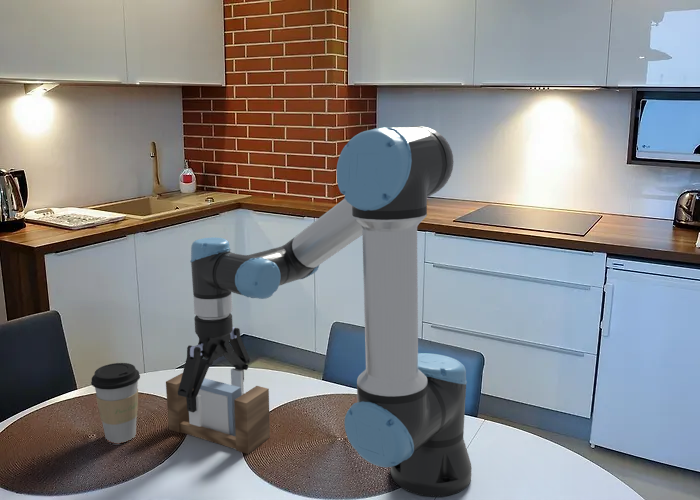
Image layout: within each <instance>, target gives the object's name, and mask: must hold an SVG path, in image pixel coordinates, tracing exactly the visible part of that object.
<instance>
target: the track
mask: <svg viewBox="0 0 700 500" xmlns="http://www.w3.org/2000/svg"><path fill="white" fill-rule="evenodd" d="M182 374H183V372H181V373H180V374H178V375H176V376H174V377H172V378H170V379H168V380H166V381H165V390H166V405H167V406H166V407H167V421H168V422H167V423H168V430H169V431H172V432H173V431H174V432H176V433H182V434H184V435H185V434H186V435H189V436H193V437H195V438H198V439H200V440H201V439H202V440H205V441H208V442H211V443H215V444H218V445H220V446H221V445H222V446H224V447H228V448H231V449H235V451H237V452H239V453H244V454H247V455H249V454H250V453H252V452H253V451H255V450H256V449H257V448H258V447H259V446H261V445H262V444H264V443H265V442H266V441H267V440H269V439H270V438H271V427H270V426H271V423H270V421H271V420H270V391H269V390H270V388H267V387H264V386H260V385H255V386H254V387H253V388H251V389H250V390H247V391H246V392H244V394H243V395H241V396H240V397H238V398H237V399H235V400H234V407H235V432H236V437H235V436H232V435H229V434H225V433H222V432H219V431H215V430H212V429H209V428H205V427H202V426H200V427H199V426H196V425H192V424H189V411H188V410H187V400H186V397H183V396H179V395H178V389H179V386H180V382H181V378H182ZM193 390H194V389H193ZM269 437H270V438H269ZM268 438H269V439H268Z"/></svg>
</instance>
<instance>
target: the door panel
mask: <svg viewBox="0 0 700 500" xmlns="http://www.w3.org/2000/svg"><path fill="white" fill-rule="evenodd" d="M198 395H201V408H202V427H205V428H209V429H212V430H215V431H219V432H222V433H225V434H229V435H232V436H235V437H236V432H235V407H234V400H235V399H237V398H238V397H240V396H241V387H237V386H233V385H231V384H230V383H225V382H221V381H217V380H213V379H209V378H206V377H205V378H204V380H203V383H202V385H201V388H200V390H199V392H198Z"/></svg>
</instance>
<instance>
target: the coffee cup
mask: <svg viewBox="0 0 700 500" xmlns="http://www.w3.org/2000/svg"><path fill="white" fill-rule="evenodd" d="M140 378H141V375H140V372H139V370H138V369H137V368H136V366H135V365H134V364H131V363H127V362H116V363H115V362H114V363H109V364H105V365H102V366H100V367H98V368H97V369H95V371H94V375H92V377H91V381H90V383H91V386H92V387H94V390H95V398H96V402H97V407H98V412H99V418H100V421H101V422H102V427H103V432H104V436H105V440H106V439H107V440H109V441H111V442H114V443H121V442H126V441H128V440H131V439H132V438H134V437H135V438H136V436H137V416H138V410H139V409H138V406H139V405H138V403H139V401H138V400H139V388H138V386H139V385H138V383H139V382H138V381H139V380H140ZM135 435H136V436H135ZM135 438H134V439H135ZM132 440H133V439H132ZM132 440H131V441H132Z"/></svg>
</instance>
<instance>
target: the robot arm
mask: <svg viewBox="0 0 700 500" xmlns="http://www.w3.org/2000/svg"><path fill="white" fill-rule="evenodd" d="M453 169H454V155H453V151H452V148H451V145H450V143H449V142H448V140H446V138H445V137H444V136H443V135H442V134H441V133H440V132H438V131H436V129H432V128H431V127H427V126H422V125H415V126H414V125H413V126H401V127H398V126H397V127H396V126H395V127H387V126H386V127H385V126H383V127H379V128H377V127H375V128H373V129H368V130H367V129H366V130H364V131H361V132H359V133H358V134H356V135H354V136H353V137H351V139H349V141H348V142H347V143H346V144H345V145H344V147H343V148H342V150H341V152H340V154H339V157H338V160H337V164H336V172H335V173H336V184H337V186H338V189H339V192H340V194H342V195H343V196H344V198H343V199H342V200H341V201H340V202H338V203H337V204H335V205H334V206H333V207H332V208H330V209H329V210H327V211H326V212H325V213H323V214H322V215H321V216H320V217H319V218H317V219H316V220H314V222H312V223H311V224H309V225H308V226H307V227H305V228H304V229H303V230H302V231H300V232H299V233H297V234H296V235H295V237H293V238H292V239H290V240H289V241H287V242H286V243H285V244H283V245H282V246H281V245H280V246H277V247H274V248H270V249H267V250H263V251H259V252H256V253H251V254H240V253H235V252H231V247H230V242H229V241H228V240H227V239H225V238H223V237H203V238H198V239H196V240H194V241H193V242H192V244H191V247H190V251H191V252H190V265H191V278H192V279H191V280H192V294H193V309H194V310H193V311H194V315H195V316H194V318H193V319H194V333H195V334H196V335H197V338H198V344H197V345H188V346H187V347H186V359H185V362H184V367H183V370H182V373H183V374H182V378H181V382H180V386H179V389H178V395H179V396H183V397H186V400H187V410H188V411H189V424H192V425H196V426H199V427H200V426H202V408H201V395H198V392H199V390H200V388H201V385H202V383H203V380H204V378H206V376H207V373H208V370H209V369H210V367H211V366H212V365H214V361H216V360H218V359H219V358H222V357H224V358H225V359H226V360H227V362H228V363H230V365H231V366H232V368H231V369H230V381H231V382H230V383H231V384H230V385H233V386H237V387H241V395H243V394H244V393H245V389H244V387H245V386H244V382H245V371H248V369H249V364H250V363H251V358H250V355H249V354H248V351H247V349H246V346H245V343H244V342H243V340H242V337H241V330H240V328H238V327H234V325H233V315H232V311H233V301H232V300H233V299H232V298H233V297H232V293H233V294H237V295H241V296H245V297H246V298H251V299H258V300H266V299H269V298H271V297H272V296H273V294H274V293H275V292H276V291H278V289H279V287H280V286H283V285H287V284H289V283H292V282H294V281H298V280H304V279H305V278H308V277H310V276H311V275H314V274H315V273H316V272H317V271H318V270H319V268H320V265H321V264H323V263H325V261H328V259H330V258H331V257H333V256H334V255H336V254H337V253H339V252H340V251H342V250H343V249H344V248H346V247H348V245H350V244H352V243H353V242H355V241H357V239H359V238H361V236H362V264H363V265H362V267H363V270H362V271H363V305H364V307H363V308H364V309H363V311H364V339H365V342H364V344H365V346H364V348H365V369H364V370H363V371H362V372H361V373H359V375H358V376H357V380H356V392H357V393H356V394H357V395H356V396H357V399H356V400H357V401H356V402H354V403H353V404H352V405H350V407H349V409H348V410H347V411H346V414H345V416H344V422H343V423H344V430H345V434H346V437H347V440H348V441H349V443H350V445H351V447H352V448H353V449H354V450H355V451H356V452H357V454H358V455H359V456H360V457H361V458H362V459H364V460H365V461H366V462H369V463H370V464H372V465H374V466H377V467H381V468H390V476H391V479H392V480H393V481H394V482H395V483H396V484H397V486H399V487H400V488H402V489H404V490H406V491H408V492H410V493H413V494H415V495H416V494H417V495H419V496H424V497H448V496H450V495H455V494H457V493H460V492H462V491H464V490H465V489H466V488H467V487H468V486H469V484H470V483H471V481H472V480H471V479H472V462H471V459H470V456H469V453H468V449H467V446H466V442H465V440H464V430H465V413H466V411H465V410H466V409H465V408H466V397H467V395H466V394H467V385H468V381H467V369H466V367H465V365H464V364H463V363H462V362H460V360H458V359H456V358H453V357H451V356H447V355H443V354H437V353H428V352H427V353H425V352H423V353H421V352H419V316H418V313H419V310H418V309H419V308H418V307H419V302H418V297H419V295H418V287H419V286H418V226H419V224H421V223H422V221H424V219H425V218H427V215H428V208H427V207H428V198H429V197H431V196H433V195H434V194H436V193H437V192H439V191H441V190H442V189H443V188H444V187H445V185H446V184H447V183H448V182H449V180H450V177H452V173H453ZM203 357H204V358H203ZM193 389H194V390H193Z"/></svg>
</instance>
